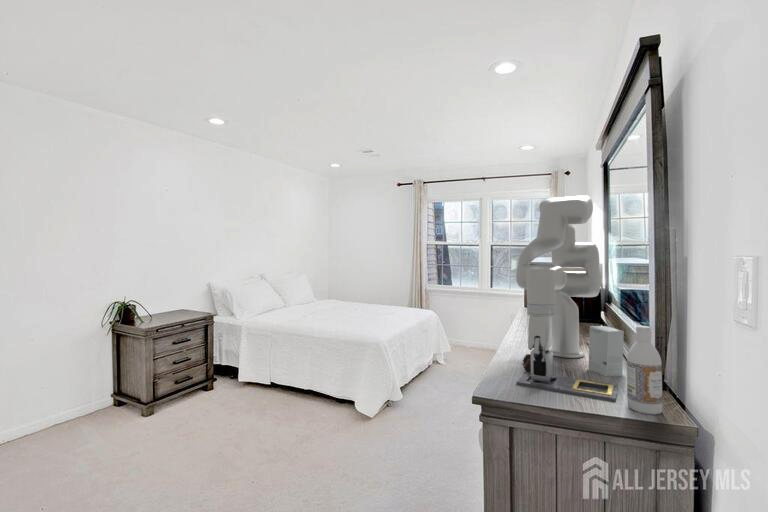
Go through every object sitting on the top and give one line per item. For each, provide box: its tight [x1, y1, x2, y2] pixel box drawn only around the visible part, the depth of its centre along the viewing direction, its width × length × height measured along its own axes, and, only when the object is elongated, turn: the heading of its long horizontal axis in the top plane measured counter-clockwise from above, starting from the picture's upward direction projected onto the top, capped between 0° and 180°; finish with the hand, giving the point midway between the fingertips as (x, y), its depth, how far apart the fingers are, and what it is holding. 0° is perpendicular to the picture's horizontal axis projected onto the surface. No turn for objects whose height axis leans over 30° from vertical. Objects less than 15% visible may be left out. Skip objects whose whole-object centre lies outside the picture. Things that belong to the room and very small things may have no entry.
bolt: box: [522, 353, 531, 373], centre depth 127 cm, size 6×5×15 cm
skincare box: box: [587, 325, 625, 377], centre depth 120 cm, size 8×6×15 cm
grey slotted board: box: [515, 371, 619, 403], centre depth 107 cm, size 12×24×2 cm, turn 56°
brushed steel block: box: [530, 348, 554, 383], centre depth 111 cm, size 5×5×8 cm
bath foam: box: [626, 325, 663, 416], centre depth 93 cm, size 7×7×20 cm
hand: (541, 372), depth 111 cm, fingers closed on brushed steel block, 5 cm apart
